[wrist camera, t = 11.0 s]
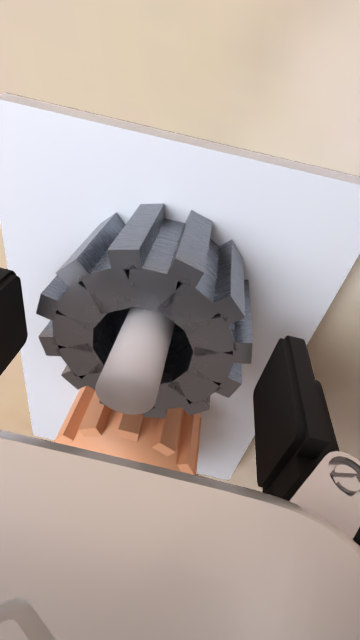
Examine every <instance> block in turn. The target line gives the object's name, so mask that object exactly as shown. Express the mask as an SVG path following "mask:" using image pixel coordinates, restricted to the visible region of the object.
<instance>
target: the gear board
mask: <svg viewBox="0 0 360 640" xmlns="http://www.w3.org/2000/svg"><path fill="white" fill-rule="evenodd" d="M160 203H164V206H165V216H166V219H170V220H175V221H179V222H183V223H185V221H186V219H187V217H188V215H189V213H190V211H191V210H193V211H195V212H196V213H198V214H200V215H202V216H204V217H206V218H208V219H210V220H211V221H213V222H212V229H211V235H210V238H211V239H212V240H213V241H214V242H215V243H216V244H217V245H218V246H221V245H222V244H224V243H226V242H228V241H230V240H231V239H232V240H233V242H234V243H235V245H236V247H237V248H238V250H239V252H240V253H241V255H242V257H243V267H244V280H249V292H250V308H251V325H252V341H253V345H252V359H251V364H242V385H241V386H240V387H239V388H238V389H237V390H236V391H235V392H234V393H233V394H232V395H231V396H230V397H229V398H227V397H225V396H222V395H220V394H218V393H216V392H215V393H213V394H212V395H210V407H209V410H207V411H203V412H200V413H197V414H194V415H191V416H189V415H188V414H187V412H186V411H185V410H184V409H183V408H182V407H181V408H172V409H168V410H167V414H166V418H152V417H144V415H143V413H145V412H148V411H149V410H151V409H152V408H153V407H154V405H155V402H156V399H157V394H158V390H159V386H160V382H161V378H162V374H163V370H164V366H165V362H166V358H167V354H168V349H169V345H170V341H171V337H172V333H173V329H174V325H175V323H174V322H173V321H171V320H170V319H169V318H168V317H166V316H165V315H164V314H162V313H158V312H153V311H149V310H145V309H140V308H136V307H131V308H130V310H129V312H128V314H127V316H126V318H125V321H124V323H123V325H122V327H121V330H120V332H119V334H118V336H117V338H116V341H115V343H114V345H113V347H112V350H111V352H110V354H109V356H108V358H107V361H106V363H105V365H104V367H103V370H102V372H101V374H100V376H99V378H98V381H97V383H96V386H95V390H94V389H92V388H91V387H89V386H85V387H82V388H80V389H78V390H77V389H76V388H75V387H74V386H73V385H71V384H70V383H69V382H68V381H67V380H66V379H65V378H64V377H62V376H61V374H62V372H63V371H64V369H65V367H66V365H67V364H66V363H65V362H64V360H63V359H62V357H61V356H46V354H45V351H44V349H43V347H42V344H41V342H40V340H39V337H38V336H39V335H40V334H41V332H42V331H43V330H44V328H45V327H46V326H47V324H48V323H49V322H50V320H49V319H47V318H45V317H42V316H40V315H38V314H36V311H37V307H38V303H39V299H40V295H41V293H42V292H43V290H44V289H45V288H46V287H47V286H48V285H49V284H50V283H51V281H52V280H53V279H54V278H55V277H56V276H57V274H56V272H57V271H58V270H59V268H60V267H61V266H62V265H63V264H64V263H65V262H66V261H67V260H68V258H69V257H70V256H71V255H72V254H73V253H74V252H75V251H76V250H77V248H78V247H79V246H80V245H81V244H82V243H83V242H84V241H85V240H86V239H87V237H88V236H89V235H90V234H91V233H92V232H93V231H94V230H95V229H96V227H97V226H98V225H99V224H100V223H102V222H103V221H105V220H106V219H107V218H109V217H110V216H112V215H113V214H114V213H116V212H117V213H118V215H119V216H120V217H121V219H122V220H123V221H124V223H125V224H126V223H127V222H128V221H129V219H130V218H131V217H132V215H133V214H134V212H135V211H136V210H137V208H138V207H139V206H140V204H160ZM0 222H1V229H2V235H3V242H4V248H5V255H6V261H7V268H8V270H12V271H14V272H15V273H16V276H18V277H20V280H21V287H22V294H23V302H24V310H25V318H26V325H27V333H28V336H27V341H26V343H25V344H24V346H23V347H22V348H21V349H20V352H21V358H22V365H23V371H24V378H25V384H26V391H27V397H28V404H29V410H30V417H31V423H32V430H33V435H35V436H39V437H43V438H47V439H52V440H55V441H54V442H56V443H60V444H64V445H69V446H73V447H77V448H81V449H86V450H90V451H94V452H99V453H103V454H107V455H112V456H116V457H120V458H124V459H129V460H133V461H137V462H141V463H146V464H150V465H154V466H158V467H163V468H167V469H171V470H175V471H179V472H184V473H188V474H192V475H196V473H198V474H203V475H207V476H211V477H215V478H220V479H224V480H228V481H229V479H230V477H231V476H232V474H233V472H234V470H235V469H236V467H237V465H238V464H239V462H240V460H241V458H242V457H243V455H244V453H245V451H246V450H247V448H248V446H249V445H250V443H251V441H252V439H253V438H254V436H255V427H254V407H253V393H254V389H255V386H256V384H257V382H258V380H259V378H260V376H261V374H262V372H263V370H264V368H265V366H266V364H267V362H268V360H269V358H270V356H271V354H272V352H273V350H274V348H275V346H276V344H277V342H278V340H279V339H280V338H283V339H284V338H285V337H286V336H288V335H289V336H293V337H297V338H301V339H304V340H305V343H306V346H307V344H308V342H309V341H310V339H311V337H312V335H313V334H314V332H315V330H316V329H317V327H318V325H319V323H320V322H321V320H322V318H323V316H324V315H325V313H326V311H327V309H328V308H329V306H330V304H331V303H332V301H333V299H334V297H335V296H336V294H337V292H338V290H339V289H340V287H341V285H342V284H343V282H344V280H345V278H346V277H347V275H348V273H349V271H350V270H351V268H352V266H353V264H354V263H355V261H356V259H357V258H358V256H359V254H360V177H359V176H354V175H350V174H346V173H342V172H338V171H333V170H329V169H325V168H321V167H317V166H312V165H308V164H304V163H300V162H295V161H291V160H287V159H283V158H279V157H274V156H270V155H266V154H262V153H258V152H253V151H249V150H245V149H241V148H237V147H232V146H228V145H224V144H220V143H216V142H211V141H207V140H203V139H199V138H195V137H190V136H186V135H182V134H178V133H174V132H169V131H165V130H161V129H157V128H153V127H148V126H144V125H140V124H136V123H132V122H127V121H123V120H119V119H115V118H111V117H106V116H102V115H98V114H94V113H90V112H85V111H81V110H77V109H73V108H68V107H64V106H60V105H56V104H52V103H47V102H43V101H39V100H35V99H31V98H26V97H22V96H18V95H14V94H10V93H0ZM99 401H101V402H102V403H103V404H105V405H106V406H105V405H103V404H100V403H99Z"/></svg>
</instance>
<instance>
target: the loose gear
mask: <svg viewBox="0 0 360 640" xmlns="http://www.w3.org/2000/svg"><path fill="white" fill-rule="evenodd" d="M212 222H213V221H211V220H210V219H208V218H206V217H204V216H202V215H200V214H198V213H196V212H195V211H193V210H191V211H190V213H189V215H188V217H187V219H186V221H185V223H183V222H179V221H175V220H170V219H166V216H165V206H164V203H160V204H140V206H139V207H138V208H137V210H136V211H135V212H134V214H133V215H132V217H131V218H130V219H129V221H128V222H127V223H126V224H125V223H124V221H123V220H122V219H121V217H120V216H119V215H118V213H117V212H116V213H114V214H113V215H112V216H110V217H109V218H107V219H106V220H105V221H103V222H102V223H100V224H99V225H98V226H97V227H96V229H95V230H94V231H93V232H92V233H91V234H90V235H89V236H88V237H87V239H86V240H85V241H84V242H83V243H82V244H81V245H80V246H79V247H78V248H77V250H76V251H75V252H74V253H73V254H72V255H71V256H70V257H69V258H68V260H67V261H66V262H65V263H64V264H63V265H62V266H61V267H60V268H59V270H58V271H57V272H56V274H57V276H56V277H55V278H54V279H53V280H52V281H51V283H50V284H49V285H48V286H47V287H46V288H45V289H44V290H43V292H42V293H41V295H40V299H39V303H38V307H37V311H36V314H38V315H40V316H42V317H45V318H47V319H49V320H50V322H49V323H48V324H47V326H46V327H45V328H44V330H43V331H42V332H41V334H40V335H39V336H38V337H39V340H40V342H41V344H42V347H43V349H44V351H45V354H46V356H61V357H62V359H63V360H64V362H65V363H66V364H67V365H66V367H65V369H64V371H63V372H62V374H61V376H62V377H64V378H65V379H66V380H67V381H68V382H69V383H70V384H71V385H73V386H74V387H75V388H76V389H77V390H78V389H80V388H82V387H85V386H89V387H91V388H92V389H94V390H95V386H96V383H97V381H98V378H99V376H100V374H101V372H102V370H103V367H104V365H105V363H106V361H107V358H108V356H109V354H110V352H111V350H112V347H113V345H114V343H115V341H116V338H117V336H118V334H119V332H120V330H121V327H122V325H123V323H124V321H125V318H126V316H127V314H128V312H129V310H130V308H131V307H136V308H140V309H145V310H149V311H153V312H158V313H162V314H164V315H165V316H166V317H168V318H169V319H170V320H171V321H173V322H174V323H175V325H174V329H173V333H172V337H171V341H170V345H169V349H168V354H167V358H166V362H165V366H164V370H163V374H162V378H161V382H160V386H159V390H158V394H157V399H156V402H155V405H154V407H153V408H152V409H151V410H149V411H148V412H145V413H143V415H144V417H152V418H166V414H167V410H168V409H172V408H181V407H182V408H183V409H184V410H185V411H186V412H187V414H188V415H189V416H191V415H194V414H197V413H200V412H203V411H207V410H209V407H210V395H212V394H213V393H215V392H216V393H218V394H220V395H222V396H225V397H227V398H229V397H230V396H231V395H232V394H233V393H234V392H235V391H236V390H237V389H238V388H239V387H240V386H241V385H242V364H251V359H252V345H253V341H252V325H251V308H250V292H249V280H244V267H243V257H242V255H241V253H240V252H239V250H238V248H237V247H236V245H235V243H234V242H233V240H232V239H231V240H230V241H228V242H226V243H224V244H222V245H221V246H218V245H217V244H216V243H215V242H214V241H213V240H212V239H211V238H210V235H211V229H212ZM99 403H100V404H103V403H102V402H101V401H99ZM103 405H105V404H103ZM105 406H106V405H105Z"/></svg>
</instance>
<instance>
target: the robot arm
mask: <svg viewBox="0 0 360 640" xmlns="http://www.w3.org/2000/svg"><path fill="white" fill-rule="evenodd" d="M27 336H28V333H27V325H26V318H25V310H24V302H23V294H22V287H21V280H20V277H18V276H16V273H15V272H14V271H12V270H8V269H3V268H0V375H1V374H2V373H3V371H4V370H5V369H6V367H7V366H8V365H9V364H10V362H11V361H12V360H13V358H14V357H15V356H16V355H17V353H18V352H19V351H20V349H21V348H22V347H23V346H24V344H25V343H26V341H27ZM253 407H254V427H255V446H256V465H257V482H258V486H259V487H263V492H259V491H256V490H252V489H248V488H244V487H240V486H236V485H232V484H228V483H224V482H221V481H217V480H213V479H209V478H205V477H200V476H196V475H192V474H188V473H184V472H179V471H175V470H171V469H167V468H163V467H158V466H154V465H150V464H146V463H141V462H137V461H133V460H129V459H124V458H120V457H116V456H112V455H107V454H103V453H99V452H94V451H90V450H86V449H81V448H77V447H73V446H69V445H64V444H60V443H56V442H51V441H47V440H43V439H38V438H34V437H29V436H25V435H21V434H16V433H12V432H7V431H3V430H0V640H360V461H359V460H358V459H356V458H355V457H353V456H352V455H350V454H347V453H345V452H339V448H338V445H337V441H336V437H335V434H334V430H333V426H332V423H331V419H330V415H329V412H328V408H327V404H326V401H325V397H324V393H323V389H322V386H321V384H320V382H319V381H317V380H315V378H314V374H313V370H312V367H311V363H310V359H309V355H308V351H307V347H306V343H305V340H304V339H301V338H297V337H293V336H289V335H288V336H286V337H285V338H284V339H283V338H280V339H279V340H278V342H277V344H276V346H275V348H274V350H273V352H272V354H271V356H270V358H269V360H268V362H267V364H266V366H265V368H264V370H263V372H262V374H261V376H260V378H259V380H258V382H257V384H256V386H255V389H254V393H253Z"/></svg>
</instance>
